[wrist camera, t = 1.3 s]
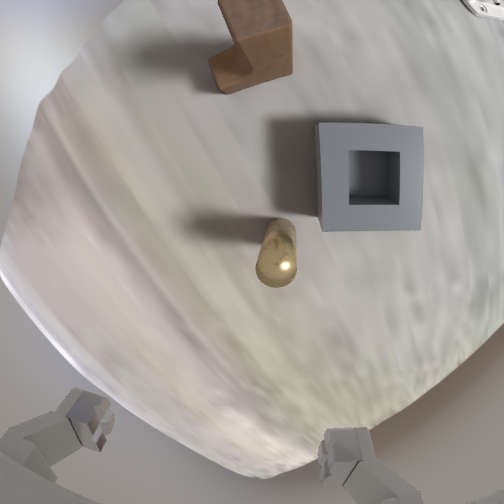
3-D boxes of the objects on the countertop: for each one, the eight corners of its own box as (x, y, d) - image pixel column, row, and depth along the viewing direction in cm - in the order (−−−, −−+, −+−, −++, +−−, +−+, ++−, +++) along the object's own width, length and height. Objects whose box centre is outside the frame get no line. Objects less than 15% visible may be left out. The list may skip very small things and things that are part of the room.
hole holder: (403, 128, 34) (422, 127, 28) (402, 216, 38) (420, 230, 32) (314, 125, 35) (318, 122, 29) (317, 217, 39) (322, 231, 33)
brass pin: (295, 217, 40) (296, 249, 29) (296, 246, 41) (296, 287, 30) (265, 218, 40) (254, 250, 29) (266, 247, 42) (256, 287, 31)
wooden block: (226, 95, 35) (175, 65, 19) (215, 66, 34) (160, 20, 17) (293, 74, 33) (294, 24, 16) (281, 44, 32) (272, -21, 15)
